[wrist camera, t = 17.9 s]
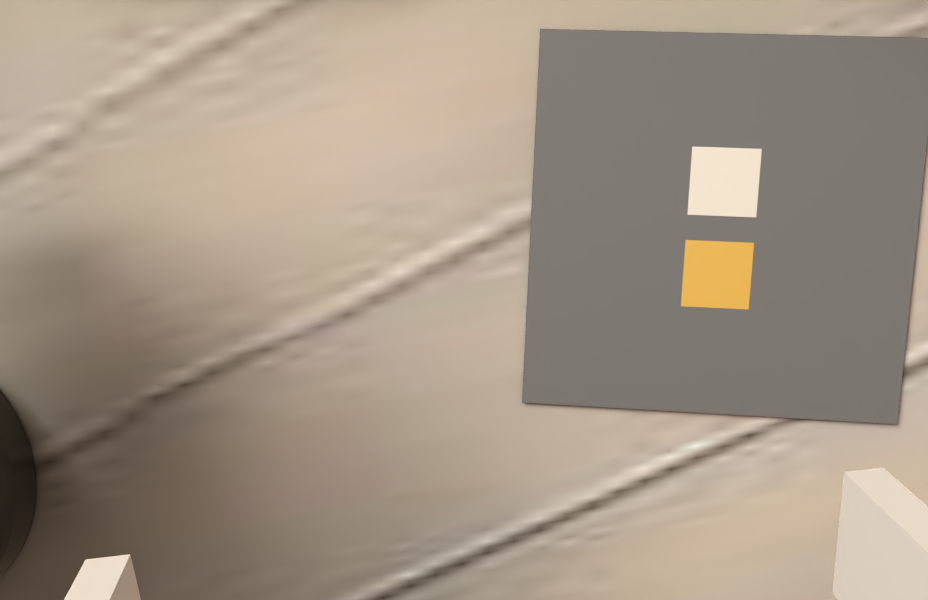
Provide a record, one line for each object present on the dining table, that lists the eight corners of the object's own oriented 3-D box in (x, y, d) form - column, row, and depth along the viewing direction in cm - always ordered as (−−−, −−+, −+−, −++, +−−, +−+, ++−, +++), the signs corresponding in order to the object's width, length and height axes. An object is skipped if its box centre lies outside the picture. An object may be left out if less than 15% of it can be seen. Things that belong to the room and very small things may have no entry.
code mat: (522, 401, 41) (522, 402, 41) (540, 29, 39) (540, 28, 39) (895, 423, 40) (897, 424, 40) (936, 39, 38) (938, 38, 37)
